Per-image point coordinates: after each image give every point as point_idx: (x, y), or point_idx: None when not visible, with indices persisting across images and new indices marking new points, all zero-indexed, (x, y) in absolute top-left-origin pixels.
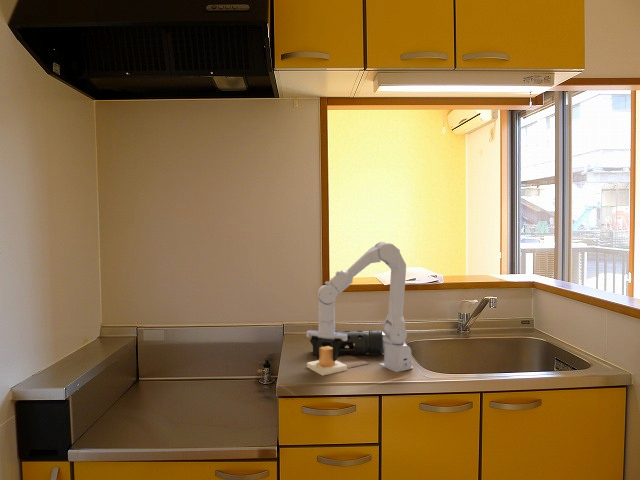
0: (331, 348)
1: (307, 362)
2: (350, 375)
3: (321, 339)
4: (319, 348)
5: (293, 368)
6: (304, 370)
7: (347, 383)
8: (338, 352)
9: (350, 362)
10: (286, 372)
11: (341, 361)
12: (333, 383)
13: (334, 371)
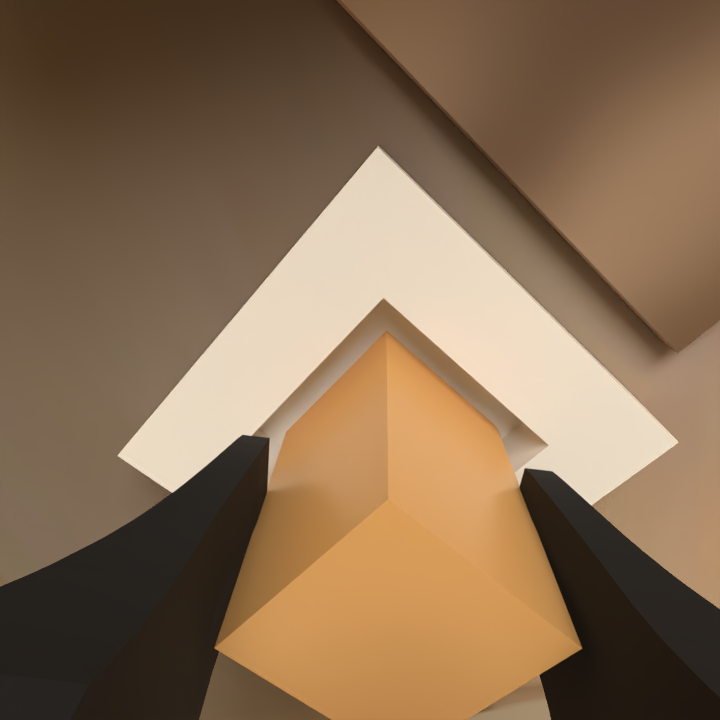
0: (504, 654)
1: (122, 455)
2: (683, 511)
3: (131, 646)
4: (238, 650)
5: (14, 456)
6: (157, 484)
7: None
8: (625, 543)
9: (709, 100)
10: (23, 565)
11: (549, 87)
12: (529, 693)
13: None
